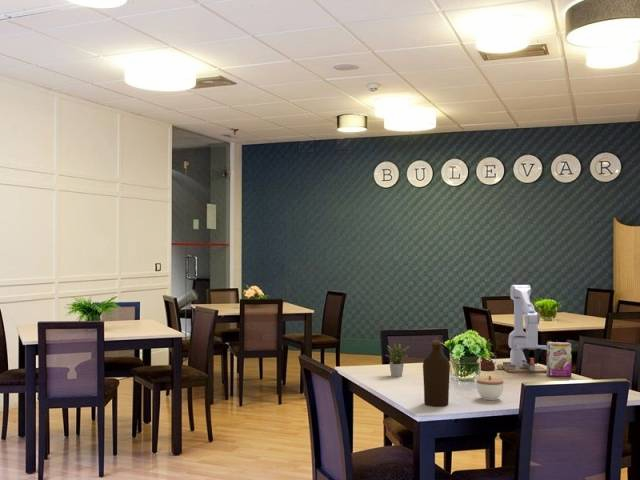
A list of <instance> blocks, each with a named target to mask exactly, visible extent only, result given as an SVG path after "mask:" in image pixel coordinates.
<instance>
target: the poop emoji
mask: <svg viewBox="0 0 640 480" xmlns="http://www.w3.org/2000/svg"><path fill="white" fill-rule="evenodd" d="M496 363H497V360H495V359H493V358H492V360H491V361H489V360H486V359H482V361H481V369H480V370H481V371H485V372H486V371H487V372H488V371H489V372H493V371H495V369H496V365H497V364H496Z"/></svg>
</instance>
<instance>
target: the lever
mask: <svg viewBox="0 0 640 480" xmlns="http://www.w3.org/2000/svg"><path fill="white" fill-rule="evenodd" d="M535 366H536V364H535V357H529V364H527V363H526V359H525V360H522V361H521V362H520V368H522V369H528V370H530V371H535Z"/></svg>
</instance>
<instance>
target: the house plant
mask: <svg viewBox="0 0 640 480" xmlns="http://www.w3.org/2000/svg"><path fill="white" fill-rule="evenodd" d="M386 346H387V347H388V348H385V349H387V351H388V352H389V354H390V355H388V354H386V355H384V356H385V357H388V358H389V359H390V360H391V361H390V362H389V370H390V376H391V377H395V378H399V377H403V372H404V365H405V363H404V362H402V360H403V359H404V358H407V353H406V354H404V352H408V349H409V348H411V346H406V347H405V348H403V349H402V350H401V348H402V347H401V346H402V345H401V343H399V344H398V347H397V345H396V343H395V342H394V347H390V345H386Z"/></svg>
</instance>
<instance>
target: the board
mask: <svg viewBox="0 0 640 480" xmlns="http://www.w3.org/2000/svg"><path fill="white" fill-rule="evenodd" d="M502 366H503V368H502V369H501V370H503V371H505V372H506V373H509V374H547V368H544V367H542V366H540V365H539V366H538V365H535V371H530V370H528V369H522V368H520V366H515V364H511V362H510V361H502Z"/></svg>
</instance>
